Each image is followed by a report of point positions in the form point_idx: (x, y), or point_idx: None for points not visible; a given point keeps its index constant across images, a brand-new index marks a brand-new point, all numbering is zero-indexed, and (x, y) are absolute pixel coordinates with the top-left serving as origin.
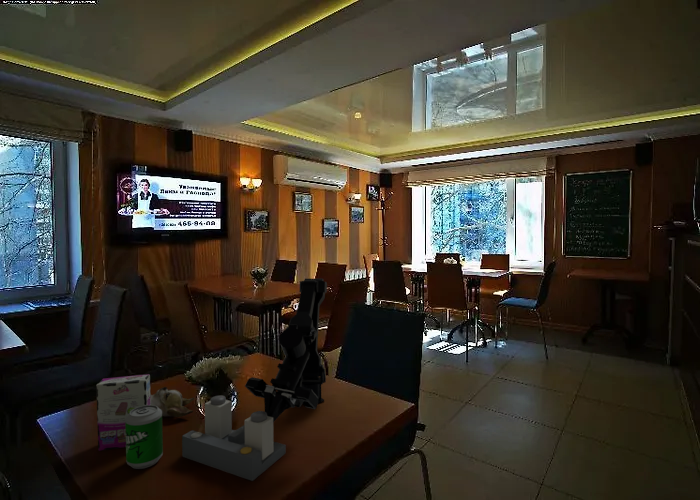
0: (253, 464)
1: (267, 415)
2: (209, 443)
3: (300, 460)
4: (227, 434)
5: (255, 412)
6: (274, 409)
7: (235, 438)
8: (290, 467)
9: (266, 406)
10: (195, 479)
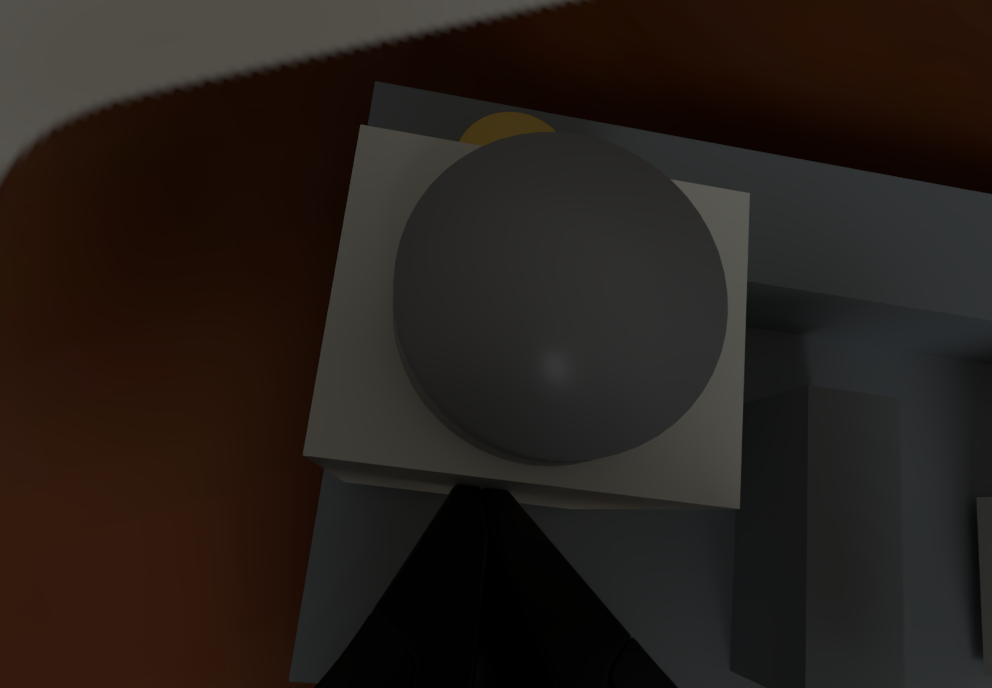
0: None
1: (507, 572)
2: (940, 196)
3: (91, 595)
4: (985, 606)
5: (689, 347)
6: (355, 637)
7: (794, 401)
8: (146, 451)
9: (621, 683)
10: (776, 103)
